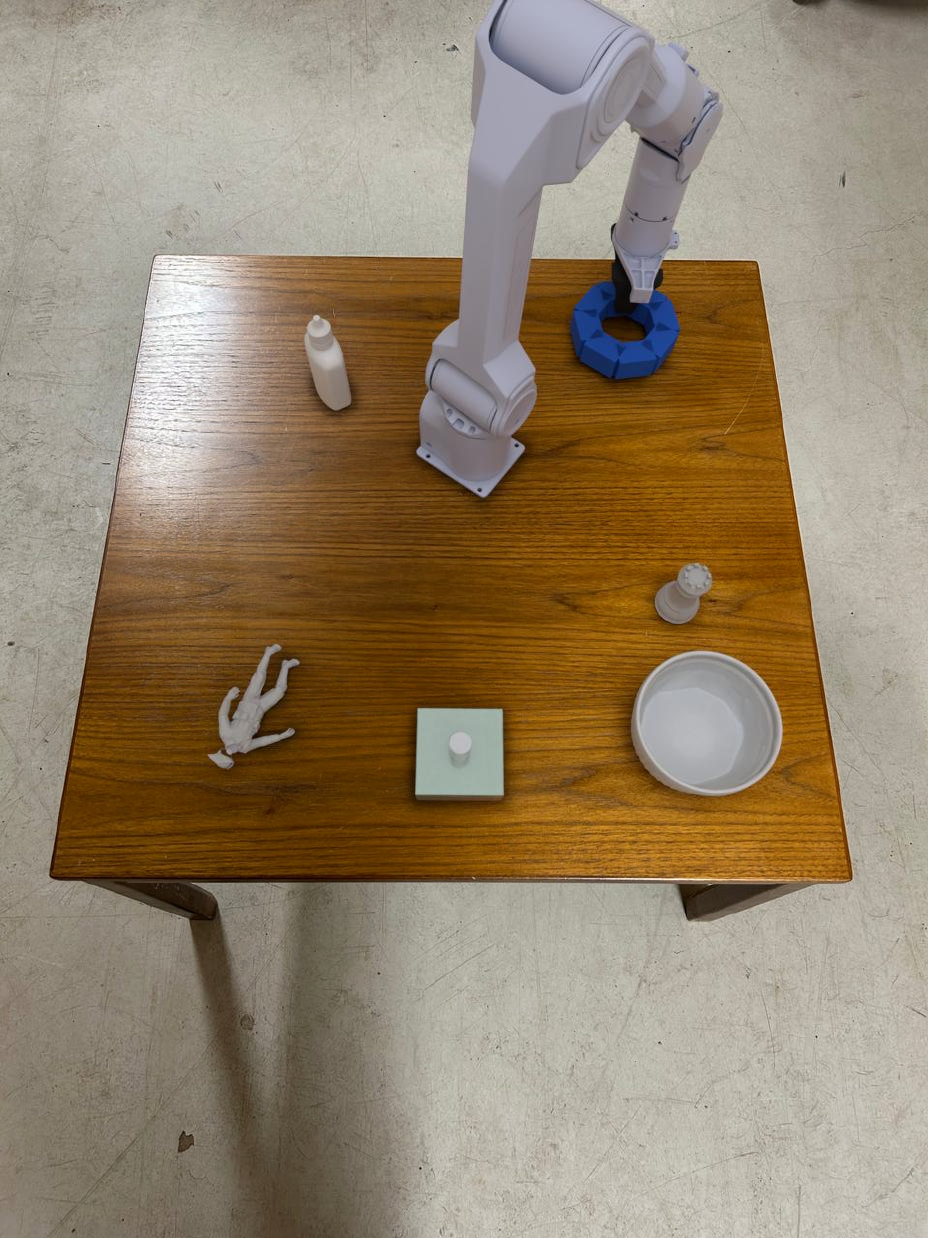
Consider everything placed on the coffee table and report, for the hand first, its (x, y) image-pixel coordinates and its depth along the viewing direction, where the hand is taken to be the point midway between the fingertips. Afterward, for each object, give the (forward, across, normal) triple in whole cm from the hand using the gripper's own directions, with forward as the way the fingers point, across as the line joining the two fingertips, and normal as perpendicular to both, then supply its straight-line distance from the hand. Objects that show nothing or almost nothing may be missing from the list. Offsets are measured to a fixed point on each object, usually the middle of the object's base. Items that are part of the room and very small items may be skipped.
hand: (623, 298), depth 91 cm
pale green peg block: (+2, -55, +16) cm, 57 cm away
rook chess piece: (+2, -37, -5) cm, 38 cm away
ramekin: (+3, -51, -6) cm, 51 cm away
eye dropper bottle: (+2, -14, +33) cm, 36 cm away
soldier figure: (+3, -51, +36) cm, 63 cm away
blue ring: (+1, -4, 0) cm, 5 cm away
